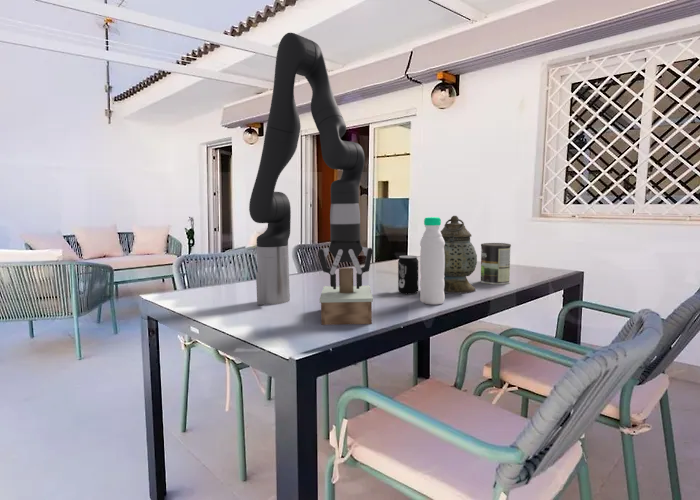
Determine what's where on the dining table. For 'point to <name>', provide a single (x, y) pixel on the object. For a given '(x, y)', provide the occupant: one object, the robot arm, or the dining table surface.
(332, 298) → the lid
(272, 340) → the dining table surface
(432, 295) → the water bottle
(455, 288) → the lantern
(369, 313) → the box
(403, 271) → the beverage can
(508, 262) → the coffee can
